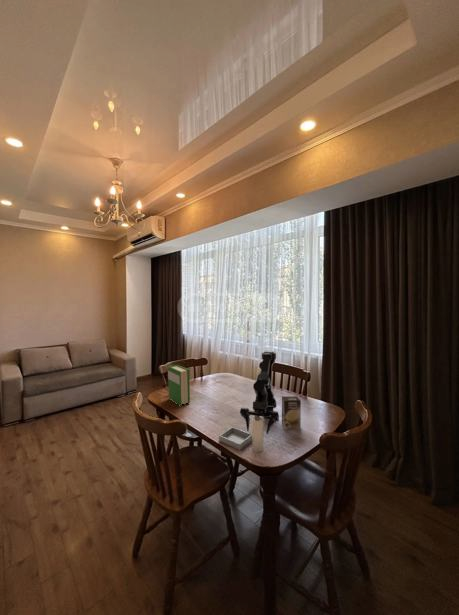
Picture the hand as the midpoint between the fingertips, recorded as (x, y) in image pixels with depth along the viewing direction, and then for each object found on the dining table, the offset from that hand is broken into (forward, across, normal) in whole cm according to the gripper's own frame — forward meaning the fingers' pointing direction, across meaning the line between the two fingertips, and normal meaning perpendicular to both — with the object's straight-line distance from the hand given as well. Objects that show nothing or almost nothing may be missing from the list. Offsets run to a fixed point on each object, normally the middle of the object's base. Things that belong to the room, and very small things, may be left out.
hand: (257, 432), depth 118 cm
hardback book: (-23, -64, +34) cm, 76 cm away
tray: (+3, -12, +8) cm, 15 cm away
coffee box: (-12, +14, +24) cm, 30 cm away
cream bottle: (+5, 0, +6) cm, 8 cm away
